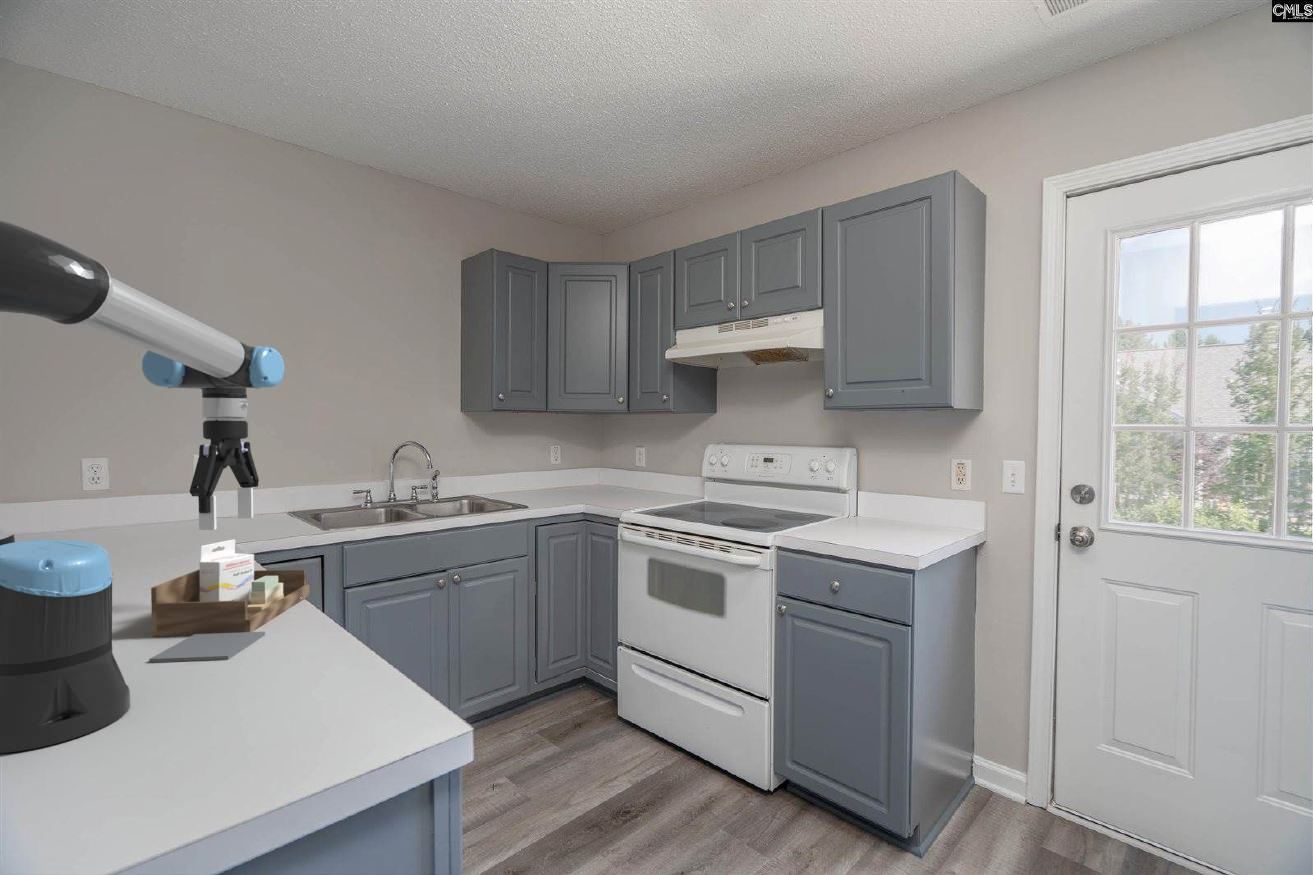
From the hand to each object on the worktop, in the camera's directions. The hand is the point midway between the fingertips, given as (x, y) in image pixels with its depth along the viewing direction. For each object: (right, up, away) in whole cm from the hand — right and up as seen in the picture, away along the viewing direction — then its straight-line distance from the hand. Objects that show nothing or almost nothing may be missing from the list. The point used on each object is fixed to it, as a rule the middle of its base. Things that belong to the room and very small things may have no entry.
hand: (227, 523), depth 127 cm
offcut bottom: (+7, -19, +1) cm, 20 cm away
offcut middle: (+7, -16, +2) cm, 17 cm away
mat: (+10, -19, -19) cm, 29 cm away
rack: (+2, -19, 0) cm, 19 cm away
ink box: (0, -19, 0) cm, 19 cm away
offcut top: (+7, -13, +1) cm, 15 cm away
